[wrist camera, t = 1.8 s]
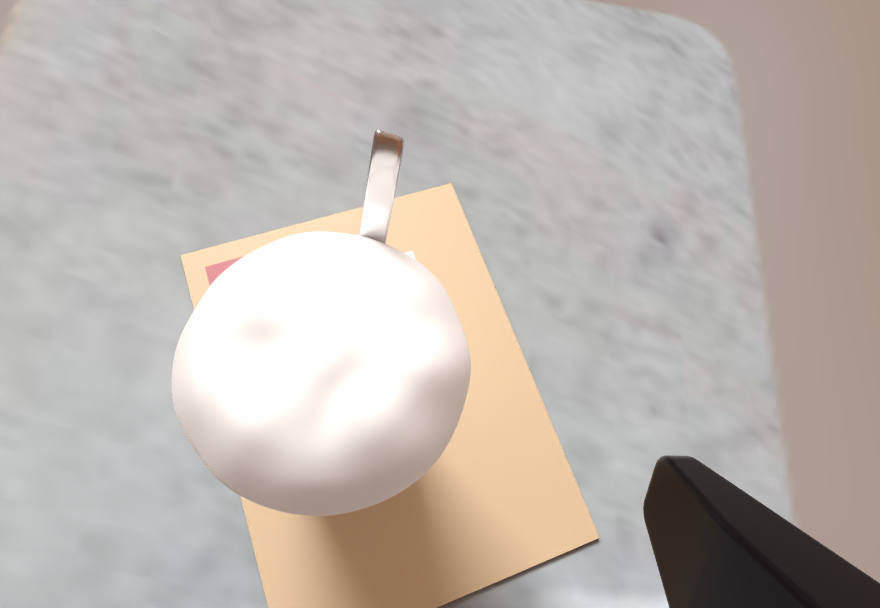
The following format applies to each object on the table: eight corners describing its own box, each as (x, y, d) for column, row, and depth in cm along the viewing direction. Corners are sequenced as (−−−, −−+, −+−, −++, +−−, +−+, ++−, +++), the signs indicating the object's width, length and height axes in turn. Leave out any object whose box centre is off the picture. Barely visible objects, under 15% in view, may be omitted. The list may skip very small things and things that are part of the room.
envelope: (598, 537, 17) (599, 537, 16) (284, 672, 15) (284, 673, 15) (451, 184, 20) (451, 183, 20) (181, 256, 18) (180, 255, 18)
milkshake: (453, 356, 18) (540, 180, 8) (398, 537, 16) (432, 569, 7) (312, 310, 18) (243, 85, 8) (240, 486, 16) (48, 445, 7)
